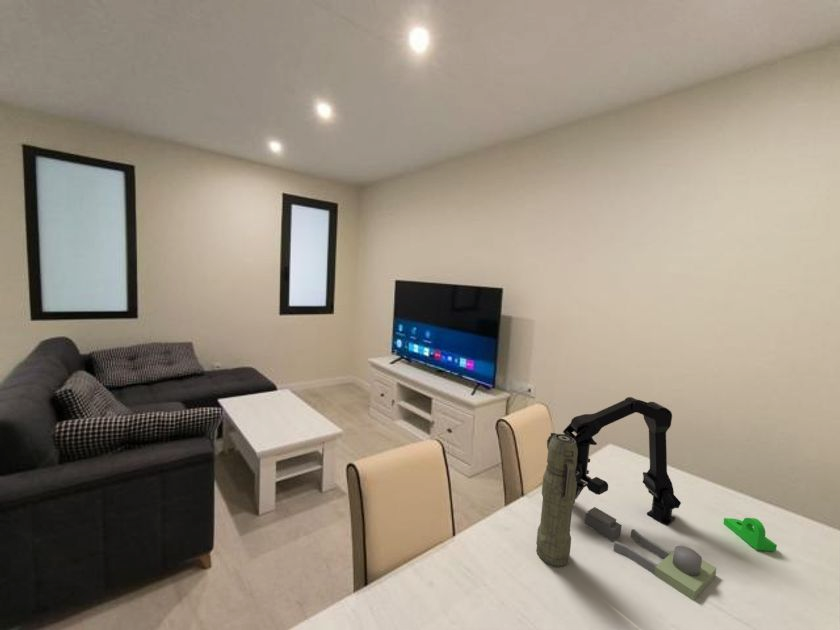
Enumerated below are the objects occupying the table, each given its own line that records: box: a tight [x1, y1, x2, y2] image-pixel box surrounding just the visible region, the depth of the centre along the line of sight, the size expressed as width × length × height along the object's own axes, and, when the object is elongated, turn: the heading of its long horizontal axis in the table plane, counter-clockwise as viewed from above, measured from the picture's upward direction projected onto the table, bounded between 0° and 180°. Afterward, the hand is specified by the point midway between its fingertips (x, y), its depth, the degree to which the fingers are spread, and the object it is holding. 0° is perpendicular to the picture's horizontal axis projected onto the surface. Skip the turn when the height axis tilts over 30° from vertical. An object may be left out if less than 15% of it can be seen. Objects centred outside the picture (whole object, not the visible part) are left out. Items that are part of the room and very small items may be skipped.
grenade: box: [535, 433, 578, 569], centre depth 99 cm, size 9×12×35 cm
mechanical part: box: [722, 517, 778, 552], centre depth 114 cm, size 12×6×8 cm, turn 0°
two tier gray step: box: [583, 506, 623, 543], centre depth 113 cm, size 5×9×5 cm, turn 35°
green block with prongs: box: [612, 528, 717, 601], centre depth 101 cm, size 16×20×6 cm
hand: (574, 498), depth 121 cm, fingers closed
